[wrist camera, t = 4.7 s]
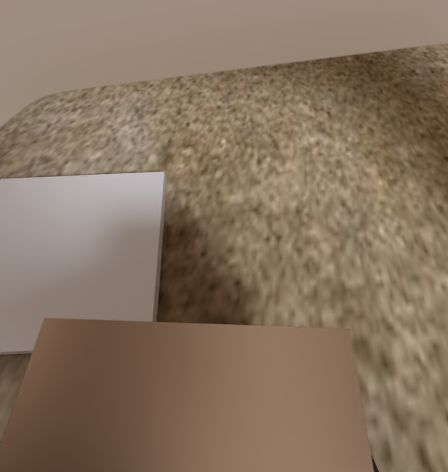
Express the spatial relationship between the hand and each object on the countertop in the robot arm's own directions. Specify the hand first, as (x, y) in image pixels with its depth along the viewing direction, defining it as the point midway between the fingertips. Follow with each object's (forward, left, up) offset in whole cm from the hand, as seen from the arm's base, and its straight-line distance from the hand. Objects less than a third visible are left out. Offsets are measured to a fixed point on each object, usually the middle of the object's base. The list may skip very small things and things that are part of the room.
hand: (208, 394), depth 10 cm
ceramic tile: (+9, -8, -6) cm, 14 cm away
